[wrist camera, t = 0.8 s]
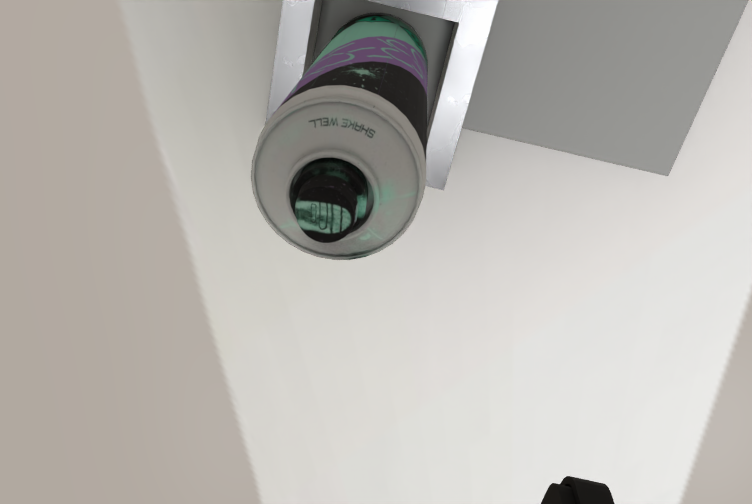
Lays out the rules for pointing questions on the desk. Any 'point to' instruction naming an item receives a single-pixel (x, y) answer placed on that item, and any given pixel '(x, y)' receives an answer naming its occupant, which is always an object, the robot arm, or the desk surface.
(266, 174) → the spray can
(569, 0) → the mat
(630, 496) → the desk surface
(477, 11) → the grey square frame
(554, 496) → the robot arm
